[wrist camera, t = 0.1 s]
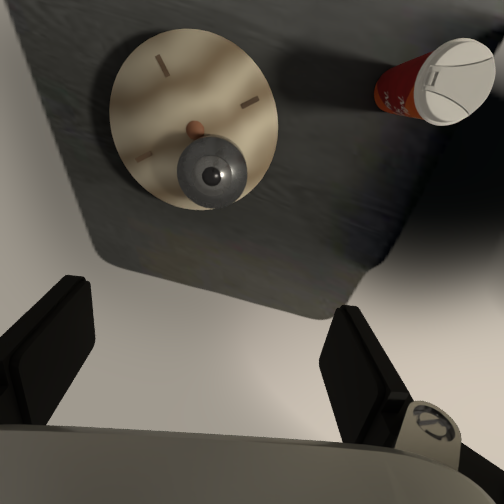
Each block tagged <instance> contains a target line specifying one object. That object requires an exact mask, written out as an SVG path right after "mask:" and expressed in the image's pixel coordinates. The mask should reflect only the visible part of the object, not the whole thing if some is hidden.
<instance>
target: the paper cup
mask: <svg viewBox="0 0 504 504" xmlns="http://www.w3.org/2000/svg"><path fill="white" fill-rule="evenodd" d="M494 79H495V62H494V57H493V54H492V53H491V51H490V50H489V49H488V48H487V47H486V46H485V45H483V44H481V43H479V42H478V41H476V40H473V39H469V38H459V39H455V40H451V41H449V42H447V43H445V44H443V45H441V46H440V47H438V48H437V49H436V50H435V51H433V52H430V53H427V54H425V55H422V56H420V57H417V58H415V59H412V60H410V61H407V62H405V63H402V64H400V65H398V66H395V67H393V68H391V69H389V70H387V71H386V72H385V73H384V74H382V76H381V77H380V78H379V80H378V81H377V83H376V86H375V90H374V99H375V102H376V104H377V106H378V107H379V108H380V109H381V110H383V111H385V112H388V113H392V114H397V115H402V116H408V117H413V118H418V119H424V120H425V121H427V122H429V123H431V124H434V125H441V126H443V125H450V124H454V123H456V122H458V121H460V120H462V119H464V118H465V117H467V116H469V115H470V114H471V113H472V112H474V111H475V110H476V109H477V108H478V107H479V106H480V105H481V104H482V103H483V102H484V101H485V99H486V98H487V97H488V95H489V93H490V91H491V88H492V86H493V83H494Z"/></svg>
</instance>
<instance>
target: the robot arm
mask: <svg viewBox="0 0 504 504" xmlns="http://www.w3.org/2000/svg"><path fill="white" fill-rule="evenodd" d="M94 343H95V328H94V318H93V307H92V296H91V285H90V282H89V281H86V279H85V278H84V277H82V276H72V275H65V276H64V277H63V278H62V279H61V280H60V281H59V282H58V283H57V284H56V285H55V286H53V287H52V288H51V289H50V291H48V292H47V293H46V294H45V295H44V296H43V297H42V298H41V299H40V300H39V301H38V302H37V303H36V304H35V305H34V306H33V307H32V308H31V309H30V310H29V311H27V312H26V313H25V314H24V315H23V316H22V317H21V318H20V319H19V320H18V321H17V322H16V323H15V324H14V325H12V327H10V328H9V329H8V330H7V331H6V332H5V333H4V334H3V335H2V336H1V337H0V504H504V471H503V470H502V469H500V468H499V467H497V466H496V465H494V464H493V463H491V462H490V461H488V460H487V459H485V458H484V457H482V456H481V455H479V454H478V453H476V452H475V451H473V450H472V449H470V448H469V447H467V446H466V445H464V444H463V443H461V433H460V431H459V428H458V426H457V425H456V423H455V422H454V421H453V419H452V418H451V417H449V415H447V414H446V413H445V412H444V411H443V410H441V409H440V408H438V407H437V406H435V405H433V404H431V403H428V402H424V401H414V400H413V399H412V397H411V395H410V393H409V391H408V390H407V388H406V386H405V384H404V383H403V381H402V380H401V378H400V376H399V375H398V373H397V371H396V369H395V368H394V366H393V364H392V363H391V361H390V360H389V358H388V356H387V354H386V353H385V351H384V349H383V348H382V346H381V345H380V343H379V341H378V339H377V338H376V336H375V334H374V333H373V331H372V329H371V328H370V326H369V324H368V323H367V321H366V319H365V318H364V316H363V314H362V313H361V311H360V309H359V308H358V307H357V306H349V305H342V306H341V307H340V308H337V309H336V311H335V314H334V317H333V320H332V322H331V325H330V328H329V331H328V334H327V337H326V340H325V343H324V346H323V349H322V352H321V355H320V358H319V367H320V371H321V373H322V377H323V380H324V384H325V387H326V390H327V393H328V396H329V400H330V403H331V406H332V409H333V413H334V416H335V419H336V422H337V426H338V429H339V432H340V435H341V438H342V442H343V443H339V442H326V441H313V440H298V439H283V438H266V437H252V436H236V435H218V434H202V433H184V432H168V431H151V430H150V431H149V430H130V429H113V428H94V427H75V426H49V425H46V424H47V423H48V421H49V419H50V418H51V416H52V414H53V413H54V411H55V409H56V408H57V406H58V405H59V403H60V401H61V400H62V398H63V396H64V394H65V393H66V391H67V390H68V388H69V386H70V385H71V383H72V382H73V380H74V378H75V377H76V375H77V373H78V372H79V370H80V368H81V367H82V365H83V363H84V362H85V360H86V359H87V357H88V355H89V353H90V352H91V350H92V349H93V347H94Z"/></svg>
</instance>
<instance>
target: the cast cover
mask: <svg viewBox="0 0 504 504" xmlns="http://www.w3.org/2000/svg"><path fill="white" fill-rule="evenodd" d="M247 174H248V173H247V165H246V160H245V157H244V154H243V153H242V151H241V149H240V148H239V147H238V146H237V145H236V144H235V143H234V142H233V141H232V140H230V139H228V138H226V137H224V136H221V135H206V136H202V137H200V138H198V139H196V140H195V141H193V142H192V143H191V144H190V145H188V146H187V147H186V148H185V149H184V151H183V152H182V154H181V156H180V158H179V160H178V164H177V178H178V182H179V185H180V187H181V189H182V191H183V192H184V194H185V195H186V196H187V197H188V198H189V199H190V200H191V201H192V202H194V203H195V204H197V205H199V206H202V207H205V208H210V209H217V208H223V207H226V206H228V205H230V204H232V203H233V202H235V201H236V200H237V199H238V198H239V197H240V196H241V194H242V193H243V191H244V189H245V187H246V183H247Z"/></svg>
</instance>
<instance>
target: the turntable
mask: <svg viewBox="0 0 504 504" xmlns="http://www.w3.org/2000/svg"><path fill="white" fill-rule="evenodd" d="M109 113H110V126H111V132H112V136H113V140H114V143H115V146H116V149H117V151H118V153H119V156H120V158H121V159H122V161H123V163H124V165H125V167H126V168H127V169H128V171H129V172H130V173H131V175H132V176H133V177H134V178H135V179H136V181H137V182H138V183H139V184H140V185H141V186H142V187H144V188H145V189H146V190H147V191H148V192H150V193H151V194H153V195H154V196H155V197H157V198H159V199H161V200H163V201H164V202H166V203H169V204H172V205H174V206H177V207H181V208H185V209H192V210H209V209H210V208H205V207H202V206H199V205H197V204H195V203H194V202H192V201H191V200H190V199H189V198H188V197H187V196H186V195H185V194H184V192H183V191H182V189H181V187H180V185H179V182H178V178H177V164H178V160H179V158H180V156H181V154H182V152H183V151H184V149H185V148H186V147H187V146H188V145H190V144H191V143H192V142H193V141H195V140H196V139H198V138H200V137H202V136H206V135H221V136H224V137H226V138H228V139H230V140H232V141H233V142H234V143H235V144H236V145H237V146H238V147H239V148H240V149H241V151H242V153H243V154H244V157H245V160H246V165H247V173H248V174H247V183H246V187H245V189H244V191H243V193H242V194H241V196H240V197H239V198H238V199H237V200H239V199H241V198H242V197H244V196H245V195H246V194H248V193H249V192H250V191H251V190H252V189H253V188H254V187H255V186H256V185H257V184H258V183H259V182H260V180H261V179H262V178H263V176H264V174H265V173H266V171H267V170H268V167H269V165H270V163H271V161H272V158H273V155H274V152H275V148H276V143H277V135H278V118H277V111H276V105H275V101H274V98H273V95H272V91H271V89H270V87H269V85H268V82H267V80H266V79H265V77H264V75H263V74H262V72H261V70H260V69H259V67H258V66H257V65H256V64H255V62H254V61H253V60H252V59H251V58H250V57H249V56H248V55H247V54H246V53H245V52H244V51H243V50H242V49H241V48H239V47H238V46H236V45H235V44H234V43H232V42H231V41H229V40H227V39H225V38H223V37H221V36H219V35H216V34H214V33H211V32H207V31H203V30H198V29H177V30H171V31H167V32H164V33H160V34H158V35H156V36H154V37H152V38H150V39H148V40H146V41H145V42H144V43H142V44H141V45H139V46H138V47H137V48H136V49H135V50H134V51H133V52H132V53H131V54H130V55H129V57H128V58H127V59H126V61H125V62H124V63H123V65H122V67H121V68H120V70H119V72H118V74H117V76H116V79H115V82H114V85H113V88H112V93H111V97H110V109H109ZM237 200H236V201H237ZM233 203H234V202H233Z"/></svg>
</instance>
